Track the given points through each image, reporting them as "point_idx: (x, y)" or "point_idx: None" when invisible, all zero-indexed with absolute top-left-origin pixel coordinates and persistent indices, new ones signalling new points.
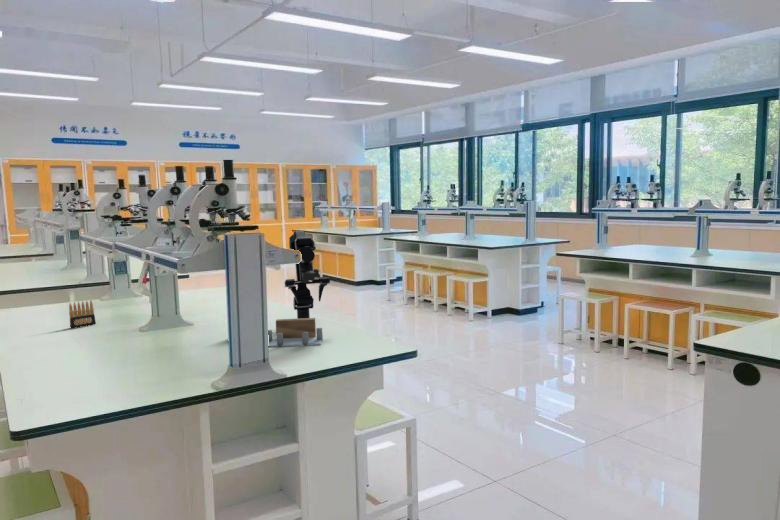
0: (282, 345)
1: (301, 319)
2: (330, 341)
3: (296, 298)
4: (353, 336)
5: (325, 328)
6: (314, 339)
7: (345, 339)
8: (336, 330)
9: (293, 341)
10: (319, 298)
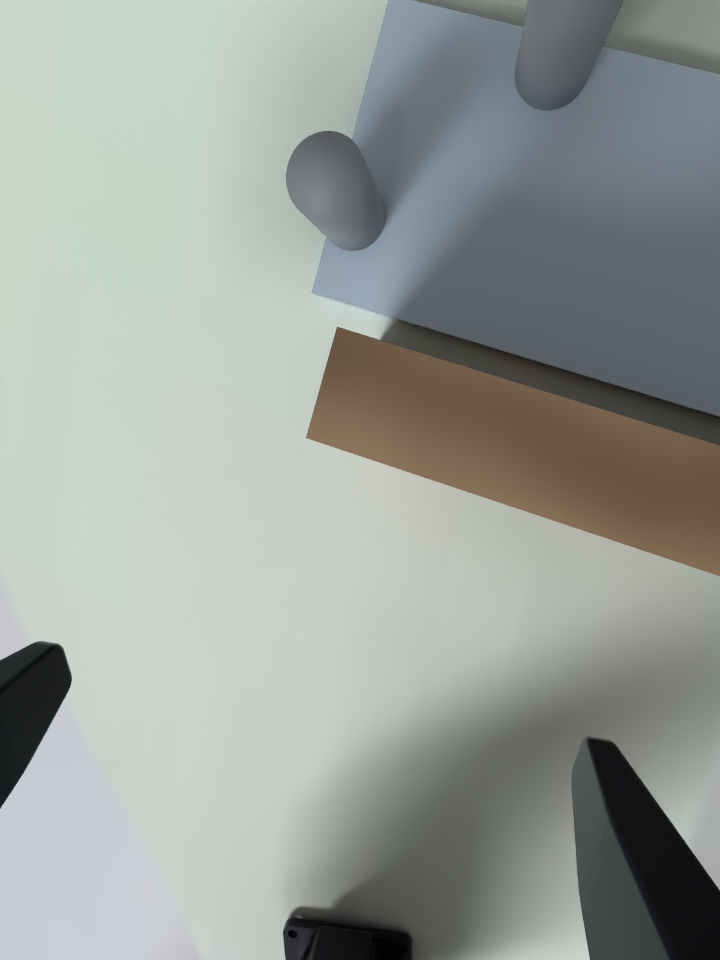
0: None
1: (531, 431)
2: (262, 126)
3: (682, 863)
4: (25, 232)
5: (218, 645)
6: (412, 213)
7: (109, 146)
8: (138, 527)
9: (663, 224)
10: (3, 679)
